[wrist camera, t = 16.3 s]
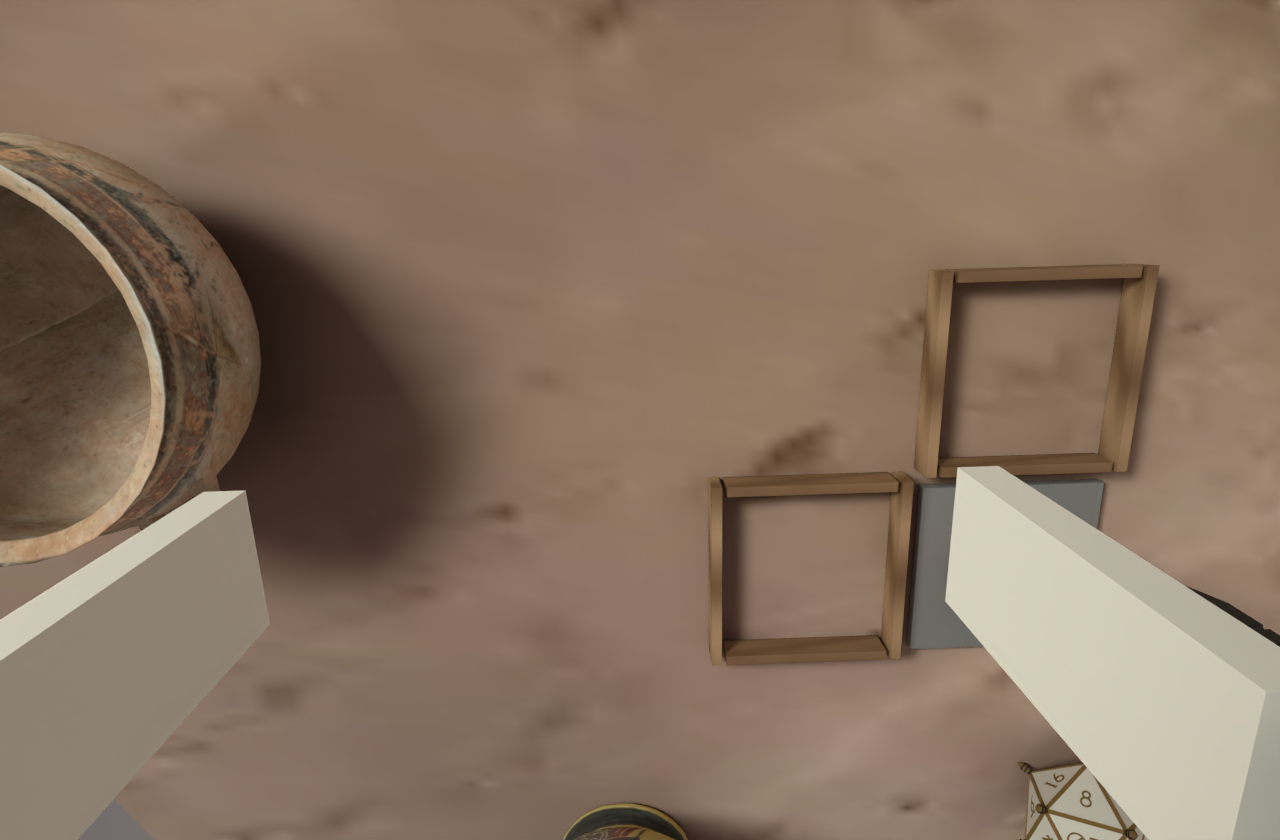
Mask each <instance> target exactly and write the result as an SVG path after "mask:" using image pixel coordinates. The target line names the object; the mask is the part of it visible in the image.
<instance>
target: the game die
mask: <svg viewBox="0 0 1280 840" xmlns="http://www.w3.org/2000/svg"><path fill="white" fill-rule="evenodd" d="M1018 763H1019V765H1020V768H1021V770H1023V771H1024V772H1026V773H1028V774H1029V780H1028V796H1027V812H1026V828H1025V839H1024V840H1148V839H1147V838H1146V836H1145V835H1144V834H1143V833H1142V832H1141V830H1140V829H1139V828H1138V827H1137V826H1136V825H1135V823H1134V822H1133V821H1132V820H1131V819H1130V818H1129V816H1128V815H1127V814H1126V813H1125V812H1124V811H1123V809H1122V808H1121V807H1120V806H1119V805H1118V803H1117V802H1116V801H1115V800H1114V799H1113V798H1112V796H1111V795H1110V794H1109V793H1108V792H1107V791H1106V789H1105V788H1104V787H1103V786H1102V785H1101V783H1100V782H1099V781H1098V780H1097V779H1096V778H1095V776H1094V775H1093V774H1092V773H1091V772H1090V771H1089V769H1088V768H1087V767H1086V766H1085V765H1084V764H1083V763H1077V764H1071V765H1064V766H1058V767H1052V768H1046V769H1040V770H1034V771H1032V770H1031V769H1030V768H1029V766H1027V765H1026V763H1025V764H1024V763H1020V762H1018ZM1020 840H1021V839H1020Z"/></svg>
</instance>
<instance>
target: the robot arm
mask: <svg viewBox="0 0 1280 840" xmlns="http://www.w3.org/2000/svg"><path fill="white" fill-rule="evenodd" d="M945 601H946V603H947V604H948V605H949V606H950V607H951V608H952V610H953V611H954V612H955V613H956V614H957V616H958V617H959V618H960V619H961V620H962V621H963V623H964V624H965V625H966V626H967V627H968V628H969V630H970V631H971V632H972V633H973V634H974V635H975V637H976V638H977V639H978V640H979V641H980V643H981V644H982V645H983V646H984V647H985V648H986V650H987V651H988V652H989V653H990V654H991V655H992V657H993V658H994V659H995V660H996V661H997V663H998V664H999V665H1000V666H1001V667H1002V668H1003V670H1004V671H1005V672H1006V673H1007V674H1008V675H1009V677H1010V678H1011V679H1012V680H1013V681H1014V682H1015V684H1016V685H1017V686H1018V687H1019V688H1020V690H1021V691H1022V692H1023V693H1024V694H1025V695H1026V697H1027V698H1028V699H1029V700H1030V701H1031V702H1032V704H1033V705H1034V706H1035V707H1036V708H1037V709H1038V711H1039V712H1040V713H1041V714H1042V715H1043V717H1044V718H1045V719H1046V720H1047V721H1048V722H1049V724H1050V725H1051V726H1052V727H1053V728H1054V729H1055V731H1056V732H1057V733H1058V734H1059V735H1060V737H1061V738H1062V739H1063V740H1064V741H1065V742H1066V744H1067V745H1068V746H1069V747H1070V748H1071V749H1072V751H1073V752H1074V753H1075V754H1076V755H1077V756H1078V758H1079V759H1080V760H1081V761H1082V762H1083V764H1084V765H1085V766H1086V767H1087V768H1088V769H1089V771H1090V772H1091V773H1092V774H1093V775H1094V776H1095V778H1096V779H1097V780H1098V781H1099V782H1100V783H1101V785H1102V786H1103V787H1104V788H1105V789H1106V791H1107V792H1108V793H1109V794H1110V795H1111V796H1112V798H1113V799H1114V800H1115V801H1116V802H1117V803H1118V805H1119V806H1120V807H1121V808H1122V809H1123V811H1124V812H1125V813H1126V814H1127V815H1128V816H1129V818H1130V819H1131V820H1132V821H1133V822H1134V823H1135V825H1136V826H1137V827H1138V828H1139V829H1140V830H1141V832H1142V833H1143V834H1144V835H1145V836H1146V838H1147V839H1148V840H1280V635H1278V634H1277V633H1275V632H1273V631H1272V630H1270V629H1264V628H1263V625H1262V624H1261V623H1259V622H1257V621H1256V620H1254V619H1253V618H1251V617H1249V616H1248V615H1246V614H1245V613H1243V612H1241V611H1240V610H1238V609H1237V608H1235V607H1233V606H1232V605H1230V604H1229V603H1226V602H1224V601H1222V600H1219V599H1217V598H1214V597H1212V596H1209V595H1207V594H1204V593H1202V592H1200V591H1197V590H1195V589H1192V588H1190V587H1187V586H1185V585H1183V584H1181V583H1180V582H1178V581H1177V580H1175V579H1173V578H1172V577H1170V576H1169V575H1167V574H1166V573H1164V572H1163V571H1161V570H1160V569H1158V568H1156V567H1155V566H1153V565H1152V564H1150V563H1149V562H1147V561H1146V560H1144V559H1142V558H1141V557H1139V556H1138V555H1136V554H1135V553H1133V552H1132V551H1130V550H1128V549H1127V548H1125V547H1124V546H1122V545H1121V544H1119V543H1118V542H1116V541H1114V540H1113V539H1111V538H1110V537H1108V536H1107V535H1105V534H1104V533H1102V532H1100V531H1099V530H1097V529H1096V528H1094V527H1093V526H1091V525H1090V524H1088V523H1086V522H1085V521H1083V520H1082V519H1080V518H1079V517H1077V516H1076V515H1074V514H1073V513H1071V512H1069V511H1068V510H1066V509H1065V508H1063V507H1062V506H1060V505H1059V504H1057V503H1055V502H1054V501H1052V500H1051V499H1049V498H1048V497H1046V496H1045V495H1043V494H1041V493H1040V492H1038V491H1037V490H1035V489H1034V488H1032V487H1031V486H1029V485H1027V484H1026V483H1024V482H1023V481H1021V480H1020V479H1018V478H1017V477H1015V476H1013V475H1012V474H1010V473H1009V472H1007V471H1006V470H1004V469H1003V468H1001V467H999V466H983V467H958V469H957V479H956V490H955V501H954V512H953V522H952V533H951V544H950V555H949V565H948V576H947V587H946V598H945ZM269 625H270V622H269V616H268V611H267V605H266V600H265V594H264V589H263V583H262V578H261V572H260V567H259V561H258V556H257V550H256V545H255V539H254V534H253V528H252V523H251V517H250V512H249V506H248V501H247V496H246V490H244V491H213V492H202V493H201V494H199V495H198V496H196V497H195V498H193V499H191V500H190V501H188V502H187V503H185V504H183V505H182V506H180V507H179V508H177V509H175V510H174V511H172V512H171V513H169V514H167V515H166V516H164V517H163V518H161V519H160V520H158V521H156V522H155V523H153V524H152V525H150V526H148V527H147V528H145V529H144V530H142V531H140V532H139V533H137V534H136V535H134V536H132V537H131V538H129V539H128V540H126V541H125V542H123V543H121V544H120V545H118V546H117V547H115V548H113V549H112V550H110V551H109V552H107V553H105V554H104V555H102V556H101V557H99V558H98V559H96V560H94V561H93V562H91V563H90V564H88V565H86V566H85V567H83V568H82V569H80V570H78V571H77V572H75V573H74V574H72V575H70V576H69V577H67V578H66V579H64V580H63V581H61V582H59V583H58V584H56V585H55V586H53V587H51V588H50V589H48V590H47V591H45V592H43V593H42V594H40V595H39V596H37V597H35V598H34V599H32V600H31V601H29V602H28V603H26V604H24V605H23V606H21V607H20V608H18V609H16V610H15V611H13V612H12V613H10V614H8V615H7V616H5V617H4V618H2V619H1V620H0V840H78V839H79V837H80V836H81V835H82V834H83V833H84V832H85V831H86V829H87V828H88V827H89V826H90V825H91V824H92V823H93V822H94V821H95V820H96V818H97V817H98V816H99V815H100V814H101V813H102V812H103V811H104V809H105V808H106V807H107V806H108V805H109V804H110V803H111V802H112V801H113V799H114V798H115V797H116V796H117V795H118V794H119V793H120V792H121V790H122V789H123V788H124V787H125V786H126V785H127V784H128V783H129V782H130V780H131V779H132V778H133V777H134V776H135V775H136V774H137V773H138V771H139V770H140V769H141V768H142V767H143V766H144V765H145V764H146V762H147V761H148V760H149V759H150V758H151V757H152V756H153V755H154V754H155V752H156V751H157V750H158V749H159V748H160V747H161V746H162V745H163V743H164V742H165V741H166V740H167V739H168V738H169V737H170V736H171V735H172V733H173V732H174V731H175V730H176V729H177V728H178V727H179V726H180V724H181V723H182V722H183V721H184V720H185V719H186V718H187V717H188V716H189V714H190V713H191V712H192V711H193V710H194V709H195V708H196V707H197V705H198V704H199V703H200V702H201V701H202V700H203V699H204V698H205V697H206V695H207V694H208V693H209V692H210V691H211V690H212V689H213V688H214V686H215V685H216V684H217V683H218V682H219V681H220V680H221V679H222V677H223V676H224V675H225V674H226V673H227V672H228V671H229V670H230V669H231V667H232V666H233V665H234V664H235V663H236V662H237V661H238V660H239V658H240V657H241V656H242V655H243V654H244V653H245V652H246V651H247V650H248V648H249V647H250V646H251V645H252V644H253V643H254V642H255V641H256V639H257V638H258V637H259V636H260V635H261V634H262V633H263V632H264V631H265V629H266V628H267V627H268V626H269Z"/></svg>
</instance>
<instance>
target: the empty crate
mask: <svg viewBox="0 0 1280 840" xmlns="http://www.w3.org/2000/svg"><path fill="white" fill-rule="evenodd" d="M1158 271H1159V266H1157V265H1143V264H1126V265H1121V264H1120V265H1085V266H1051V267H1016V268H981V269H947V270H929V280H928V293H927V306H926V319H925V332H924V345H923V358H922V371H921V384H920V397H919V410H918V423H917V436H916V449H915V462H914V468H915V469H916V470H917V471H918V472H919V473H921V474H922V475H923V476H924V477H925V478H936V475H937V474H938V475H939V476H940V477H941V478H944V477H957V469H958V467H983V466H999V467H1001V468H1003V469H1004V470H1006V471H1007V472H1009V473H1010V474H1012V475H1037V474H1069V473H1100V472H1112V470H1114V471H1116V472H1127V467H1128V460H1129V454H1130V448H1131V441H1132V435H1133V429H1134V423H1135V416H1136V410H1137V404H1138V397H1139V391H1140V385H1141V378H1142V372H1143V366H1144V360H1145V353H1146V347H1147V341H1148V334H1149V328H1150V322H1151V315H1152V309H1153V303H1154V297H1155V290H1156V284H1157V278H1158ZM1105 278H1124V282H1123V289H1122V295H1121V302H1120V309H1119V316H1118V323H1117V329H1116V336H1115V343H1114V350H1113V357H1112V364H1111V370H1110V377H1109V384H1108V391H1107V398H1106V404H1105V411H1104V418H1103V425H1102V432H1101V438H1100V445H1099V452H1098V455H1097V454H1095V453H1077V454H1045V455H1014V456H982V457H951V458H938V452H939V440H940V428H941V417H942V405H943V393H944V382H945V370H946V358H947V347H948V335H949V323H950V312H951V300H952V288H953V282H957V283H967V282H1001V281H1036V280H1070V279H1105Z"/></svg>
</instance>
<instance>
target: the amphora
mask: <svg viewBox="0 0 1280 840" xmlns="http://www.w3.org/2000/svg"><path fill="white" fill-rule="evenodd" d="M563 840H688V839H687V837H686V835H685V833H684V831H683V830H682V829H681V828H680V827H679V826H678V825H677V824H676V823H675V822H674V821H673V820H672V819H671V818H670V817H668V816H667V815H665V814H663V813H661V812H660V811H658V810H656V809H653V808H650V807H647V806H644V805H638V804H629V803H622V804H614V805H606V806H602V807H599V808H597V809H594V810H592V811H590V812H589V813H587V814H585V815H583V816H582V817H580V818H579V819H578V820H577V821H576V822H575V823H574V824H573V825H572V827H571V828H570V829H569V831H568V832H567V833H566V835H565V836H564V839H563Z"/></svg>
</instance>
